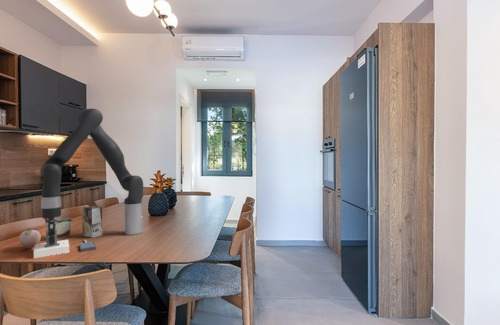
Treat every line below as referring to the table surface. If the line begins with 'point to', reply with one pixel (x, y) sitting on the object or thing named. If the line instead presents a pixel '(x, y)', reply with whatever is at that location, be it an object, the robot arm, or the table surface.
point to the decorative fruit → (29, 238)
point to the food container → (63, 227)
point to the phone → (87, 246)
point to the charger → (48, 238)
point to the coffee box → (92, 221)
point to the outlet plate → (51, 249)
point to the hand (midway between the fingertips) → (51, 243)
